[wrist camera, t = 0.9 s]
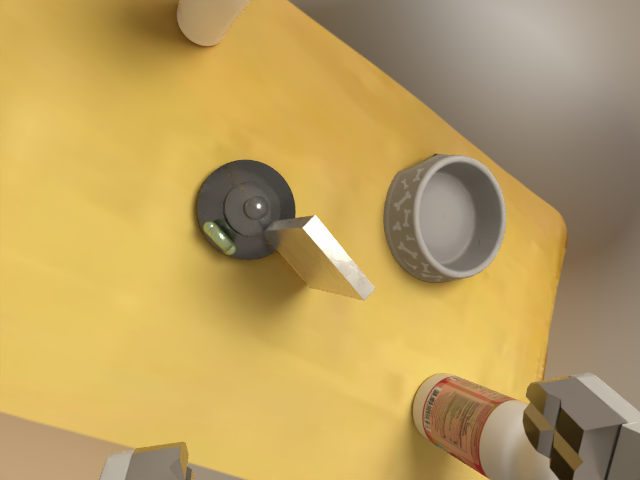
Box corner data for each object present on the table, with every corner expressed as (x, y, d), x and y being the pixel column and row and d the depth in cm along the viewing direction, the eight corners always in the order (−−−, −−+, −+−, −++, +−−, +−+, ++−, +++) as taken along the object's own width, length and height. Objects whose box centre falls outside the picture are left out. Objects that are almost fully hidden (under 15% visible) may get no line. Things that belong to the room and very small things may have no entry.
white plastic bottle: (456, 361, 61) (696, 445, 36) (467, 422, 62) (710, 546, 37) (404, 386, 57) (633, 500, 32) (417, 451, 58) (651, 612, 33)
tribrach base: (174, 205, 44) (177, 203, 42) (249, 141, 48) (255, 136, 46) (244, 279, 47) (250, 281, 45) (309, 214, 51) (318, 213, 49)
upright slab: (210, 206, 45) (241, 195, 34) (251, 171, 47) (292, 149, 36) (297, 301, 49) (349, 318, 38) (331, 265, 51) (389, 271, 40)
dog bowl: (497, 244, 65) (528, 244, 60) (410, 303, 58) (437, 309, 53) (460, 139, 62) (489, 130, 57) (363, 188, 55) (387, 182, 50)
